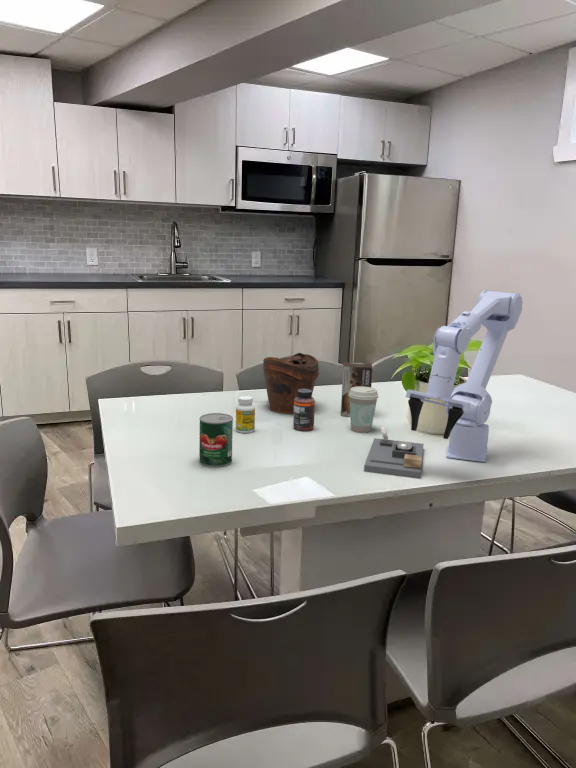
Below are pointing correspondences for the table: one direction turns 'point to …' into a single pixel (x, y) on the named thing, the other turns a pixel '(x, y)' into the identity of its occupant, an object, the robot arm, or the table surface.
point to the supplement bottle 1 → (245, 415)
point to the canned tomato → (215, 440)
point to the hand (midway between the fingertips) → (429, 434)
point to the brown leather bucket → (288, 379)
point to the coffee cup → (362, 408)
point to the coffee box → (354, 381)
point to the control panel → (391, 458)
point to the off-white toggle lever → (384, 433)
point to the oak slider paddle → (412, 461)
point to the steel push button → (404, 446)
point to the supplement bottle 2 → (304, 410)
